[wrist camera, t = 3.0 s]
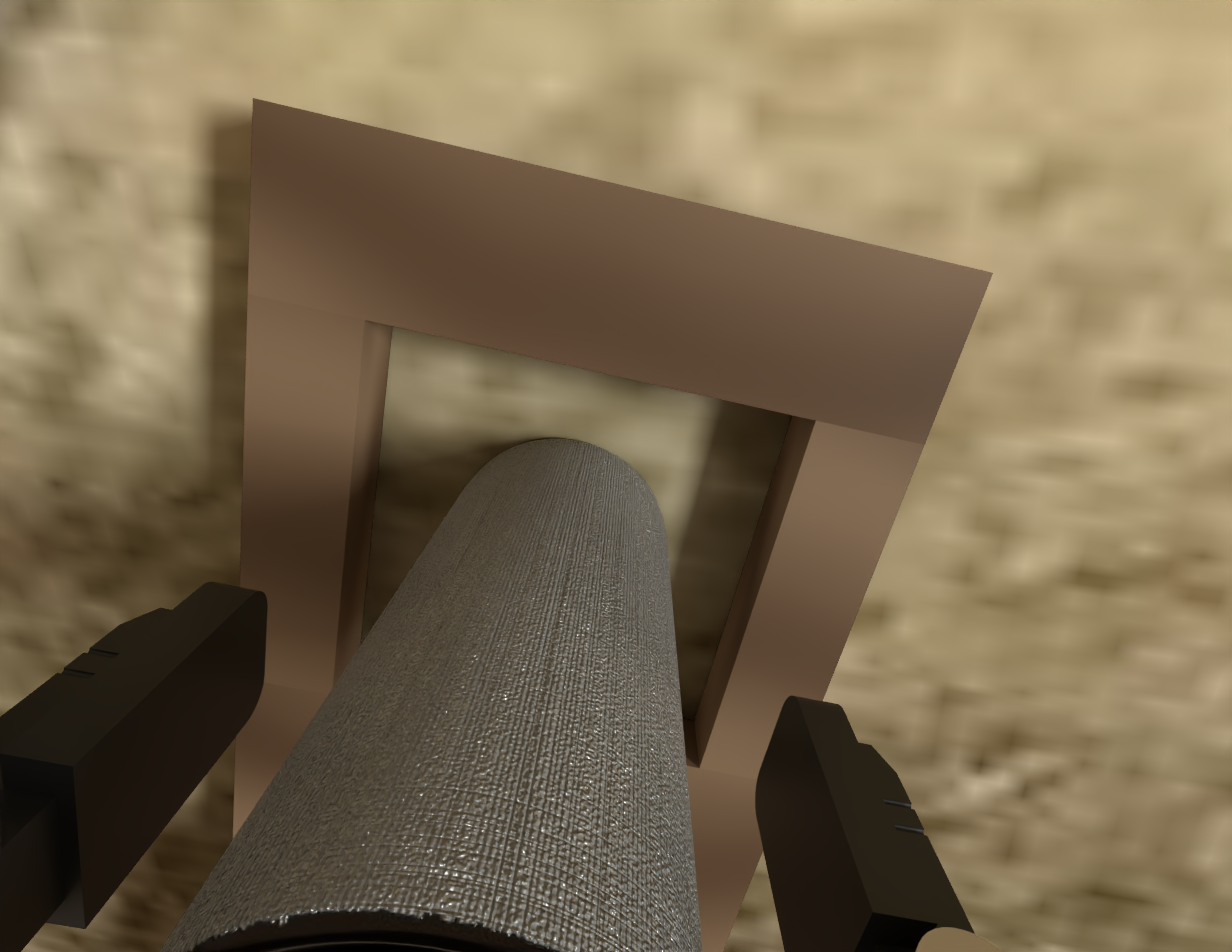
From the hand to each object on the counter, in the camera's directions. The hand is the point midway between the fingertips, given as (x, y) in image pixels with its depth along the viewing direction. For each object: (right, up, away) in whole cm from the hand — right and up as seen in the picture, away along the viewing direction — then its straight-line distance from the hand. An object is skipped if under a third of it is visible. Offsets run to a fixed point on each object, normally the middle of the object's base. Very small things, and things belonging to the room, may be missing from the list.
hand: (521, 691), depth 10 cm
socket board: (-1, -4, +7) cm, 8 cm away
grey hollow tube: (0, +2, +4) cm, 5 cm away
